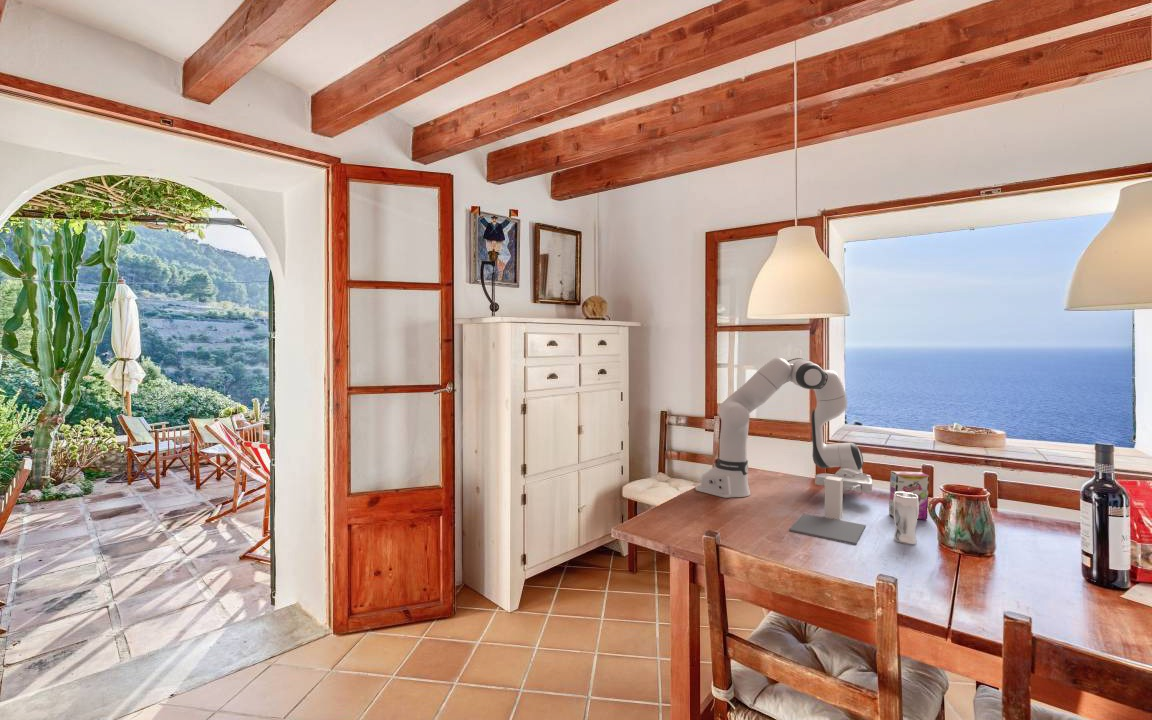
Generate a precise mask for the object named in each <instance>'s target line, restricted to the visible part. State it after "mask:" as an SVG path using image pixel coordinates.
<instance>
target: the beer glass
mask: <svg viewBox="0 0 1152 720" xmlns="http://www.w3.org/2000/svg"><path fill="white" fill-rule="evenodd" d="M893 514H894V518H893V519H894V520H893V521H894V525H895V527H894V528H895V530H894V531H895V532H894V535H893V540H894V541H895V542H896V543H900V544H903V545H908V546H909V545H910V546H911V545H912V546H913V545H916V544H917V539H916V527H917V523H918V520H917V519H918V514H919V502H918V496H917V495H916V494H912V493H908V492H895V493H894V499H893Z"/></svg>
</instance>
